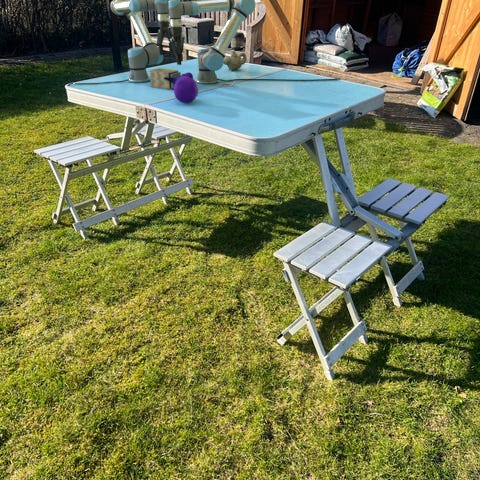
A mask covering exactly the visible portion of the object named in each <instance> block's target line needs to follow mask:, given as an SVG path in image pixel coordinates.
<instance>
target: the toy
mask: <svg viewBox="0 0 480 480" xmlns="http://www.w3.org/2000/svg"><path fill="white" fill-rule="evenodd" d="M164 79H165V80H167V81H169V82H171V83H173V84H175V86H174V88H173V93H174V97H175V98H176V100H177V101H178V102H179V103H183V104H191V103H192V102H194V101H195V100H196V98H197V97H198V95H199V87H198V83H197V81H196V80H195V79H194V74H192V72H184V73H181V77H180V78H175V77H164Z"/></svg>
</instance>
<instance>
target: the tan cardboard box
mask: <svg viewBox="0 0 480 480" xmlns="http://www.w3.org/2000/svg"><path fill="white" fill-rule="evenodd" d="M174 72H179V70H178V69H170V68H162V67H161V68H160V67H159V68H154V69H150V70H149V79H150V85H151V88H156V89H163V90H174V88H172V87H170V82H169V81H167V80H165V79H164V77H169V74H170V73H174Z"/></svg>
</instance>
